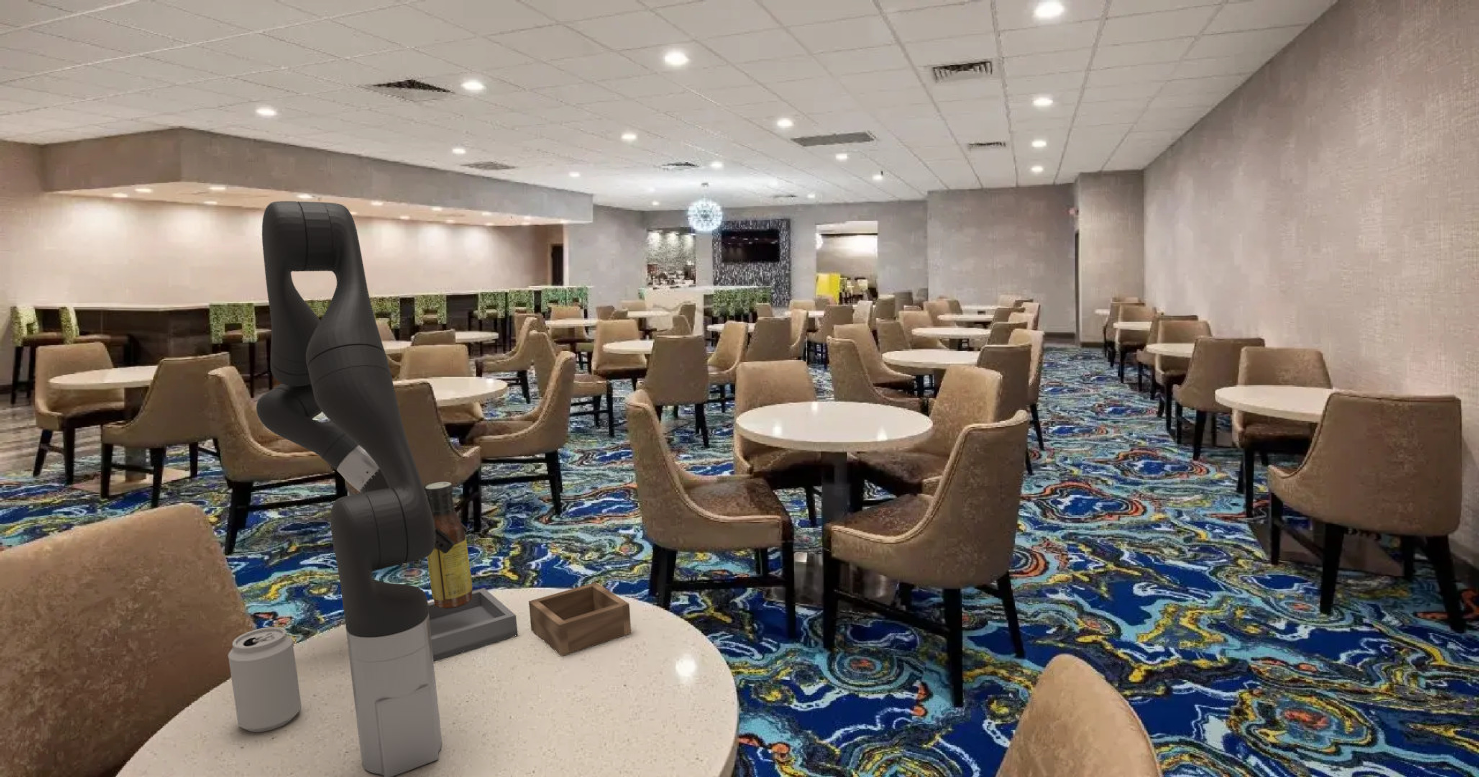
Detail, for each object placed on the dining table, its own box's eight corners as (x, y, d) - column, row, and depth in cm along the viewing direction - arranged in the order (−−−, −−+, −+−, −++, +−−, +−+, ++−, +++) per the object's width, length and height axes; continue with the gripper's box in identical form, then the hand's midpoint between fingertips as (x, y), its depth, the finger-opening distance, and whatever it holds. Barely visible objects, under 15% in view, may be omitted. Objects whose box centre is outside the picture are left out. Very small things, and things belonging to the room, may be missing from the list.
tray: (517, 635, 133) (515, 615, 133) (422, 664, 125) (420, 643, 124) (485, 607, 145) (484, 588, 145) (396, 631, 137) (394, 611, 136)
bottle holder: (631, 633, 132) (629, 603, 132) (561, 656, 126) (559, 625, 125) (597, 610, 142) (595, 582, 141) (531, 630, 135) (528, 601, 134)
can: (241, 714, 113) (230, 631, 111) (303, 700, 116) (293, 619, 114) (234, 741, 106) (222, 653, 104) (300, 725, 109) (289, 640, 107)
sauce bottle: (479, 595, 137) (469, 479, 134) (463, 611, 131) (452, 489, 128) (441, 594, 138) (431, 479, 135) (424, 610, 131) (412, 490, 128)
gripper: (372, 467, 123) (458, 540, 125) (408, 446, 137) (485, 511, 139) (340, 502, 124) (426, 574, 126) (379, 478, 138) (456, 543, 140)
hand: (457, 541), depth 133 cm, fingers closed on sauce bottle, 6 cm apart
